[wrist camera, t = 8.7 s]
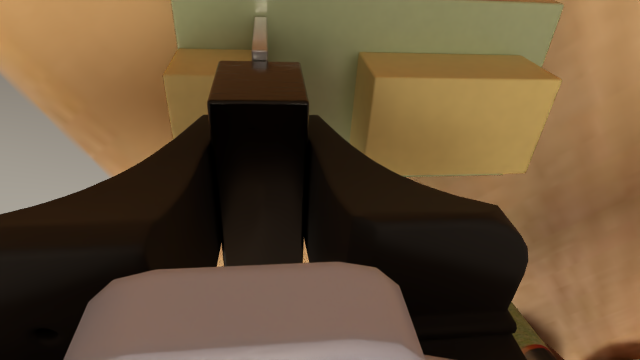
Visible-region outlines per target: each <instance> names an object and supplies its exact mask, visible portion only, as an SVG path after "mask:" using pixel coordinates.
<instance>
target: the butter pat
mask: <svg viewBox="0 0 640 360" xmlns="http://www.w3.org/2000/svg"><path fill="white" fill-rule="evenodd" d="M219 61H252V54H251V50H234V49H185V48H179V49H178V50H177V51H176V53H175V55H174V56H173V58H172V60H171V62H170V63H169V65H168V67H167V69H166V70H165V72H164V74H163V81H164V87H165V93H166V99H167V106H168V112H169V118H170V124H171V130H172V136H173V139H175V138H176V137H177V136H178V135H179V134H181V133H182V132H183V131H184V130H186V129H187V128H188V127H189V126H190V125H191V124H192V123H194V122H195V121H196V120H197V119H198V118H200V117H201V116H202V115H208V110H207V101H208V97H209V94H210V90H211V87H212V83H213V80H214V76H215V73H216V69H217V66H218V62H219Z"/></svg>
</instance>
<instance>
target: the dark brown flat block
mask: <svg viewBox="0 0 640 360" xmlns="http://www.w3.org/2000/svg"><path fill="white" fill-rule="evenodd" d="M251 54H252V61H219V62H218V66H217V69H216V73H215V76H214V80H213V83H212V87H211V90H210V94H209V97H208V101H207V110H208V119H209V128H210V138H211V147H212V157H213V166H214V176H215V185H216V195H217V204H218V213H219V223H220V232H221V242H222V251H223V261H224V267H225V266H248V265H271V264H294V263H303V244H304V220H305V197H306V173H307V150H308V127H309V99H308V95H307V90H306V86H305V81H304V77H303V72H302V68H301V64H300V63H299V62H271V61H268V27H267V17H255V18H254V27H253V39H252V50H251Z"/></svg>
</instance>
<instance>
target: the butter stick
mask: <svg viewBox="0 0 640 360" xmlns="http://www.w3.org/2000/svg"><path fill="white" fill-rule="evenodd" d="M561 82H562V80H561V79H560V78H558V77H556V76H555V75H553V74H551V73H550V72H548V71H546V70H545V69H543V68H541V67H540V66H538V65H536V64H535V63H533V62H531V61H530V60H528V59H526V58H525V57H523V56H521V55H479V54H431V53H384V52H359V56H358V65H357V74H356V84H355V93H354V102H353V112H352V121H351V130H350V140H349V141H350V144H351V145H352V146H354V147H355V148H356V149H358V150H359V151H360V152H362V153H363V154H365V155H366V156H367V157H369V158H370V159H372V160H374V161H375V162H377V163H379V164H380V165H382V166H384V167H386V168H387V169H389V170H391V171H393V172H395V173H397V174H399V175H401V176H406V175H462V174H518V173H526V170H527V168H528V165H529V163H530V160H531V158H532V155H533V153H534V150H535V148H536V145H537V143H538V140H539V138H540V135H541V133H542V130H543V127H544V125H545V122H546V120H547V117H548V115H549V112H550V110H551V107H552V105H553V102H554V100H555V97H556V95H557V92H558V90H559V87H560V85H561Z"/></svg>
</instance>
